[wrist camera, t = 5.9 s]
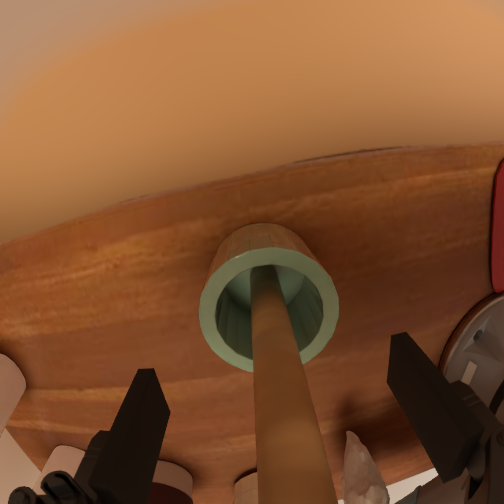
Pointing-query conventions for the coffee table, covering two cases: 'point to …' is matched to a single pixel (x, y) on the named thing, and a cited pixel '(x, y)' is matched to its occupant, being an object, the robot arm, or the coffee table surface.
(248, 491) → the bowl
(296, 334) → the holder
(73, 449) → the tall pillar cylinder
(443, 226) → the coffee table surface
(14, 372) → the foam cup
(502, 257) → the red triangular disc
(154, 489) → the coffee cup
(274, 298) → the stirring stick
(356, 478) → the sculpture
